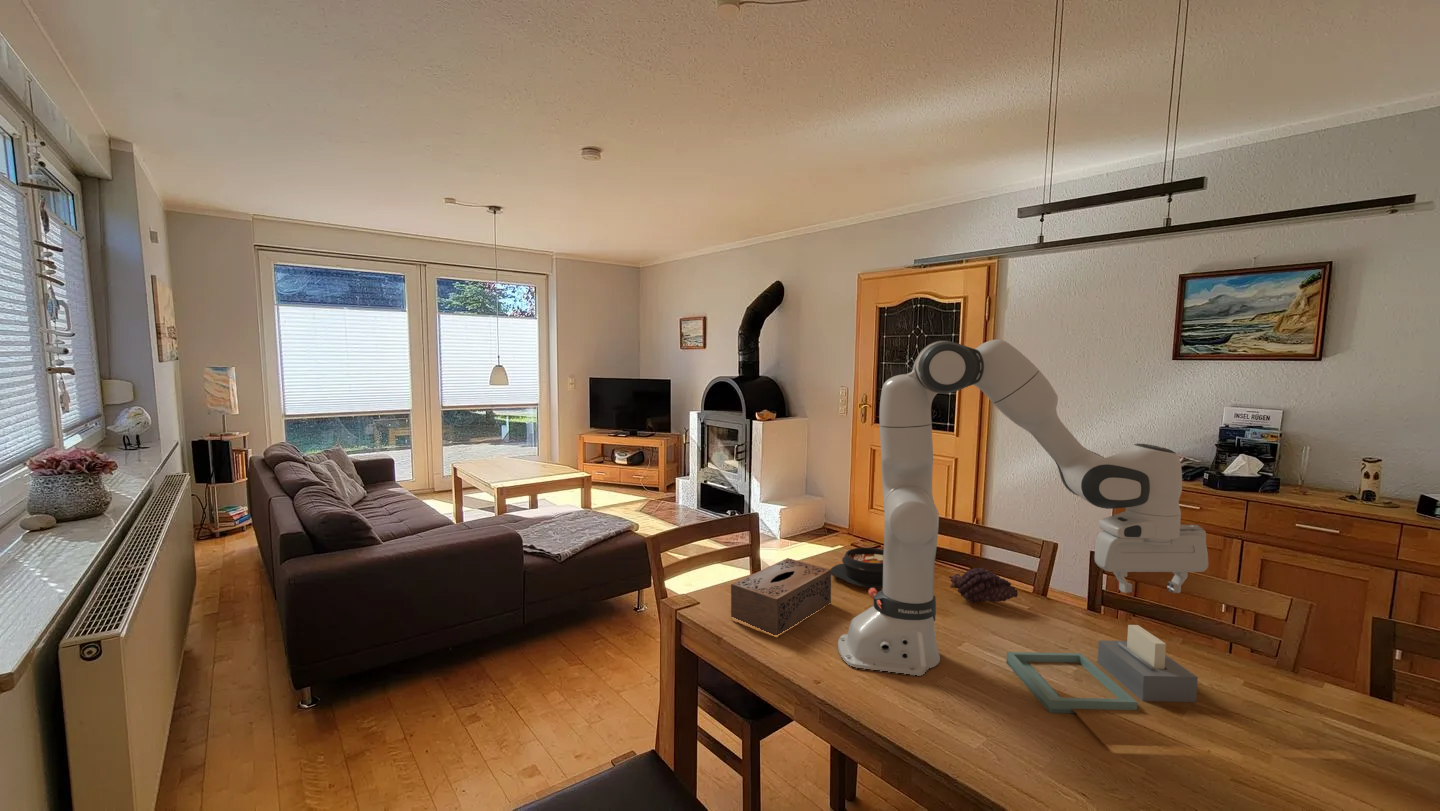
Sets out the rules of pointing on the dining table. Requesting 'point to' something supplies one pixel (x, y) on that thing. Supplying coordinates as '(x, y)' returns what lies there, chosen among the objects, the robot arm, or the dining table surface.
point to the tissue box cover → (781, 595)
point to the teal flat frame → (1051, 696)
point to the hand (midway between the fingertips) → (1149, 591)
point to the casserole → (861, 567)
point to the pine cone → (982, 586)
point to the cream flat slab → (1146, 646)
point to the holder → (1147, 674)
